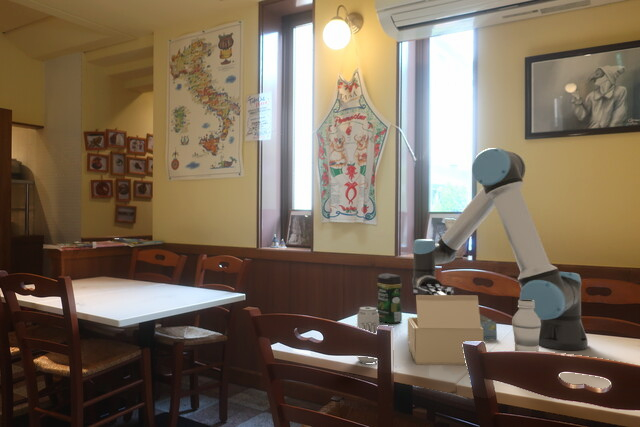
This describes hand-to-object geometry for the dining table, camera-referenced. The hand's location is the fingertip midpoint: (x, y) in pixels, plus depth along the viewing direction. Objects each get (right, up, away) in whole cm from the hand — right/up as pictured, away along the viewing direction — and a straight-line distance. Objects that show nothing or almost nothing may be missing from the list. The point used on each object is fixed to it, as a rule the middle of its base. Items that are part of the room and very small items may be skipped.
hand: (443, 299), depth 136 cm
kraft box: (0, -17, +2) cm, 17 cm away
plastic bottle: (+15, -17, -19) cm, 30 cm away
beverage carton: (+19, -18, +31) cm, 41 cm away
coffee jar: (-8, -18, +50) cm, 54 cm away
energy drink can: (-22, -17, -2) cm, 28 cm away
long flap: (0, -3, -4) cm, 4 cm away
